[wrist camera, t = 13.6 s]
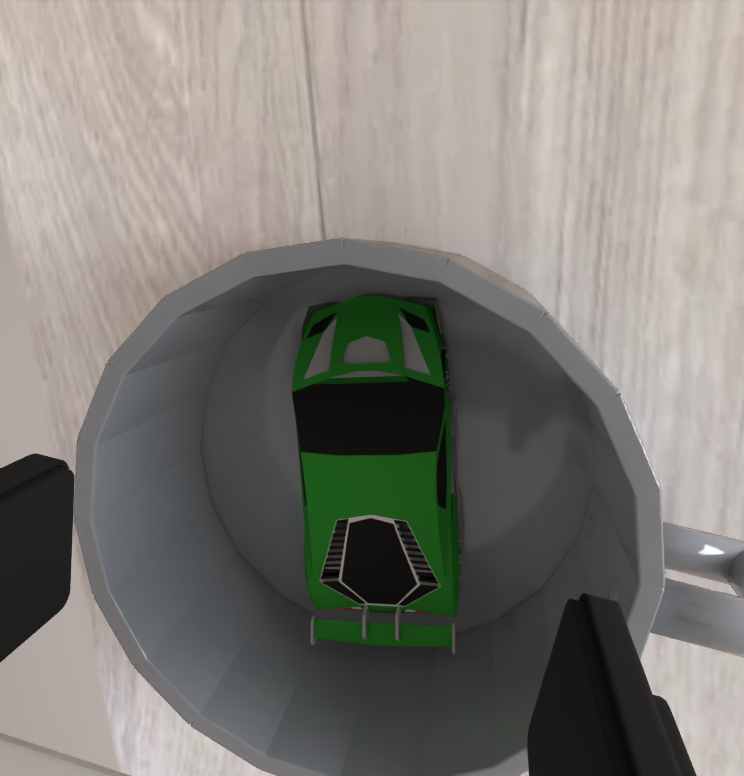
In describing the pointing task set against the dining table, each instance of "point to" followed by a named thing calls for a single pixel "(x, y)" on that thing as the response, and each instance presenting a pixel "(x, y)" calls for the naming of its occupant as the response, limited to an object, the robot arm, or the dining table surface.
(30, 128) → the dining table surface
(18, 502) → the robot arm
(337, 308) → the toy car
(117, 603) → the measuring cup
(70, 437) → the dining table surface
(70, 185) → the dining table surface
